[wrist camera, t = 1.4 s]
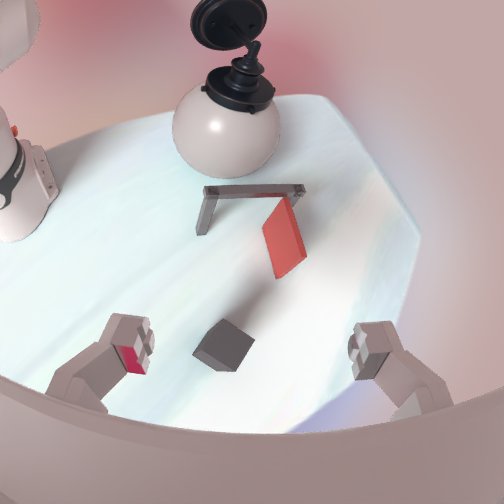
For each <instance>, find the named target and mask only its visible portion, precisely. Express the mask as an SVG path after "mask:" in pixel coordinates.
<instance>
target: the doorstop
mask: <svg viewBox="0 0 504 504" xmlns="http://www.w3.org/2000/svg"><path fill="white" fill-rule="evenodd" d="M254 341H255V339H253V338H252V337H250V336H249V335H247V334H246V333H244V332H243V331H241V330H240V329H238V328H237V327H235V326H234V325H232V324H231V323H229V322H228V321H226V320H225V319H222V320H221V321H220V322H219V323H217V324H216V325H215V326H214V327H213V328H211V329H210V330H209V331H208V332H207V334H206V335H205V337H204V338H203V339H202V341H201V342H200V344H199V345H198V347H197V348H196V350H195V351H194V353H193V354H192V355H193V356H194V357H196V358H197V359H199V360H200V361H202V362H203V363H205V364H206V365H208V366H209V367H211V368H213V369H214V370H216V371H227V372H236V370H237V368H238V367H239V365H240V364H241V362H242V360H243V359H244V357H245V356H246V354H247V352H248V351H249V349H250V347H251V346H252V344H253V342H254Z"/></svg>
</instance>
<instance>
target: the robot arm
mask: <svg viewBox="0 0 504 504" xmlns="http://www.w3.org/2000/svg"><path fill="white" fill-rule="evenodd" d="M39 27H40V11H39V7H38V5H37V3H36V1H35V0H0V73H1V72H3V71H4V70H5V69H6V68H8V67H9V66H11V65H12V64H13V63H15V62H16V61H17V60H19V59H20V58H21V57H23V56H24V55H25V54H27V53H28V52H29V50H30V49H31V47H32V46H33V44H34V42H35V40H36V37H37V34H38V31H39ZM17 134H18V132H17V127H16V126H13V127H10V125H9V122H8V119H7V117H6V113H5V111H4V110H3V108H2V107H0V241H3V242H9V243H10V242H16V241H19V240H21V239H23V238H25V237H26V236H28V235H29V234H30V233H32V232H33V231H34V230H35V229H36V227H37V226H38V225H39V224H40V222H41V221H42V219H43V217H44V215H45V213H46V211H47V208H48V206H49V205H50V204H51V202H52V201H53V200H54V199H55V198H56V197H57V195H58V193H59V190H58V187H57V185H56V182H55V180H54V177H53V175H52V172H51V169H50V166H49V164H48V161H47V158H46V155H45V152H44V150H43V148H42V146H31V143H30V141H29V140H17V139H16V138H15V137H16V136H17ZM51 187H52V188H51ZM50 188H51V189H50ZM149 326H150V321H149V318H147V317H141V316H133V315H126V314H118V313H113V314H112V315H111V316H110V318H109V321H108V323H107V325H106V327H105V329H104V331H103V333H102V335H101V337H100V339H99V342H94V343H93V344H92V345H90V346H89V347H87V348H86V349H85V350H83V351H82V352H80V353H79V354H78V355H76V356H75V357H74V358H72V359H71V360H69V361H68V362H67V363H65V364H64V365H62V366H61V367H60V368H58V369H57V370H56V371H55V373H54V375H53V378H52V380H51V382H50V384H49V387H48V389H47V391H46V393H45V394H43V393H41V392H38V391H36V390H33V389H31V388H28V387H26V386H24V385H21V384H19V383H17V382H15V381H12V380H10V379H8V378H6V377H4V376H2V375H0V504H504V386H503V387H501V388H498V389H496V390H494V391H491V392H489V393H487V394H484V395H481V396H479V397H476V398H474V399H471V400H468V401H465V402H462V403H459V404H456V405H454V404H453V402H452V399H451V396H450V393H449V391H448V388H447V386H446V383H445V381H444V380H443V379H442V378H440V377H439V376H438V375H437V374H435V373H434V372H433V371H432V370H431V369H429V368H428V367H427V366H426V365H424V364H423V363H422V362H421V361H420V360H418V359H417V358H416V357H414V356H413V355H412V354H411V353H410V352H408V351H404V349H403V347H402V344H401V342H400V339H399V337H398V335H397V332H396V330H395V328H394V325H393V323H392V322H391V321H380V322H363V323H356V324H355V326H354V329H353V330H354V334H353V335H352V336H351V337H350V339H349V342H348V354H349V359H351V360H352V361H353V362H354V363H353V365H352V371H353V375H354V379H355V380H367V379H374V381H375V382H376V383H377V384H378V386H379V387H380V388H381V389H382V390H383V391H384V392H385V393H386V395H387V396H388V397H389V398H390V399H391V400H392V401H393V402H394V404H395V405H396V406H397V407H398V408H399V409H398V410H397V411H396V412H395V413H394V414H393V415H392V417H391V418H390V420H391V422H386V423H381V424H375V425H369V426H363V427H356V428H349V429H340V430H331V431H322V432H321V431H320V432H307V433H284V434H249V433H226V432H212V431H201V430H192V429H184V428H176V427H169V426H163V425H157V424H151V423H146V422H141V421H136V420H131V419H126V418H122V417H118V416H113V415H109V414H108V410H107V408H106V407H105V406H104V404H103V403H102V402H101V401H100V400H101V399H102V398H103V397H104V396H105V395H106V394H107V393H108V392H109V391H110V390H111V389H112V388H113V387H114V386H115V385H116V384H117V383H118V382H119V381H120V380H121V379H122V378H123V377H124V376H125V375H126V374H127V372H129V373H136V374H144V375H146V373H147V370H148V366H149V363H150V361H149V358H148V356H149V355H151V354H152V353H153V349H154V342H155V339H154V333H153V331H152V330H151V329H150V328H149Z"/></svg>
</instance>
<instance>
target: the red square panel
mask: <svg viewBox="0 0 504 504" xmlns="http://www.w3.org/2000/svg"><path fill="white" fill-rule="evenodd" d="M262 229H263V233H264V236H265V240H266V244H267V247H268V251H269V255H270V259H271V262H272V266H273V270H274V274H275V277H276V279H279V278H282V277H283V276H284V275H285V274H287V273H288V272H289V271H290V270H292V269H293V268H294V267H295V266H296V265H298V264H299V263H300V262H301V261H303V260H304V259H305V258H306V257H307V254H306V251H305V247H304V244H303V241H302V238H301V235H300V232H299V228H298V225H297V222H296V219H295V216H294V213H293V210H292V207H291V204H290V201H289V198H282V199H281V201H280V202H279V204H278V205H277V207H276V208H275V209H274V211H273V212H272V214H271V215H270V217H269V218H268V219H267V221H266V222H265V224H264V225H263V227H262Z"/></svg>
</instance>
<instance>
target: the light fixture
mask: <svg viewBox="0 0 504 504" xmlns="http://www.w3.org/2000/svg"><path fill="white" fill-rule="evenodd" d="M266 20H267V10H266V7H265V4H264V3H263V1H262V0H201V1H200V2H199V4H198V5H197V6H196V7H195V9H194V11H193V13H192V16H191V20H190V27H191V31H192V33H193V35H194V37H195V39H196V40H197V41H198V42H199V43H200V44H202V45H203V46H205V47H207V48H210V49H213V50H222V51H224V50H225V51H226V50H233V49H237V48H240V47H242V46H246V48H247V49H248V50H249V51H248V53H247V54H246V55H244V57H238V58H234V59H233V60H232V61H231V64H232V66H224V67H219V68H216V69H214V70H212V71H211V72H210V73H209V74H208V76H207V79H206V81H204V82H202V83H200V84H198V85H197V86H195V87H194V88H192V89H191V90H190V91H189V92H188V93H187V94H186V95H185V96H184V97H183V98H182V100H181V101H180V103H179V104H178V106H177V108H176V110H175V113H174V116H173V121H172V135H173V140H174V143H175V146H176V148H177V150H178V152H179V154H180V156H181V157H182V158H183V160H184V161H185V162H186V163H187V164H188V165H189V166H191V167H192V168H193V169H195V170H196V171H198V172H200V173H202V174H204V175H207V176H210V177H214V178H220V179H232V178H238V177H242V176H245V175H248V174H250V173H252V172H254V171H255V170H257V169H258V168H260V167H261V166H262V165H263V164H265V163H266V162H267V161H268V159H269V158H270V157H271V156H272V154H273V153H274V151H275V149H276V147H277V144H278V141H279V137H280V118H279V114H278V111H277V108H276V106H275V104H274V102H273V101H272V99H273V96H274V92H275V88H274V87H273V86H272V85H271V83H270V82H269V81H268V80H267V79H266V78H265V77H263V76H262V75H260V74H262V73H263V72H264V67H263V66H262V65H261V64H260V63H259V62H258V59H257V55H258V52H259V50H260V47H261V43H260V42H259V41H253V40H254V39H255V38H256V37H257V36H258V35H259V34H260V33H261V31H262V30H263V28H264V27H265V24H266ZM251 41H253V42H251Z"/></svg>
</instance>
